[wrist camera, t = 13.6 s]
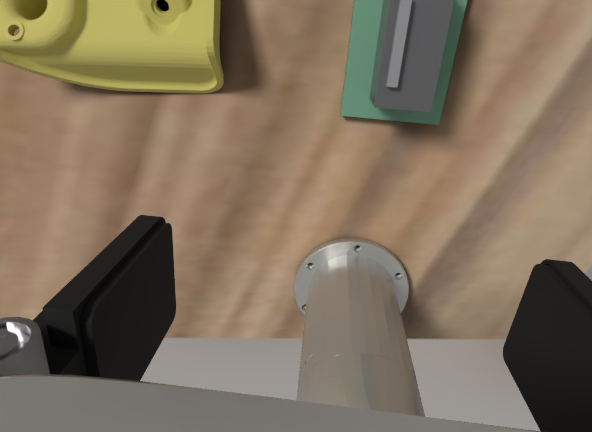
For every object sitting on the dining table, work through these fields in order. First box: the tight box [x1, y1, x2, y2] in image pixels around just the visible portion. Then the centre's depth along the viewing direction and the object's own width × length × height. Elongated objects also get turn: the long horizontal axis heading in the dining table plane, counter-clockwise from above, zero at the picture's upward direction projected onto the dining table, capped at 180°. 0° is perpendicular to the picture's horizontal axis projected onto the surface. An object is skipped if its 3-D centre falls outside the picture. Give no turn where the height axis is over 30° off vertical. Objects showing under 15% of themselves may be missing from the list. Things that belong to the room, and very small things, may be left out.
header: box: [340, 0, 467, 125], centre depth 34 cm, size 12×9×4 cm
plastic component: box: [0, 0, 224, 94], centre depth 35 cm, size 20×7×10 cm
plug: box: [369, 0, 454, 112], centre depth 32 cm, size 9×4×6 cm, turn 176°
